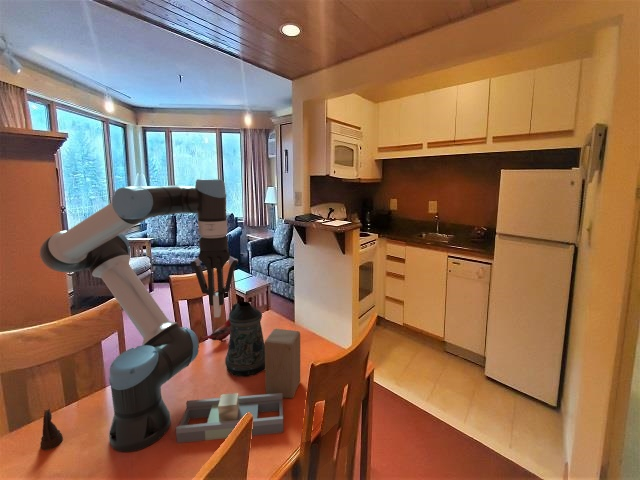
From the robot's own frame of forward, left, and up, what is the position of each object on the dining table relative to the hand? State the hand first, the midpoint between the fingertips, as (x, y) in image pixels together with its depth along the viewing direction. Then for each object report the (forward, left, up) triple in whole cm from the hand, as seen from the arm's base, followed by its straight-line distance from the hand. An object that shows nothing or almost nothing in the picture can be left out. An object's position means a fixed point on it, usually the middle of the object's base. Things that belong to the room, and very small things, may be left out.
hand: (217, 315), depth 90 cm
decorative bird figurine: (-8, +43, -33) cm, 55 cm away
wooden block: (+19, +9, -33) cm, 39 cm away
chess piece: (-44, -6, -33) cm, 55 cm away
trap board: (+4, -4, -32) cm, 33 cm away
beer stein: (+4, +26, -33) cm, 42 cm away
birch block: (+3, -5, -29) cm, 30 cm away
